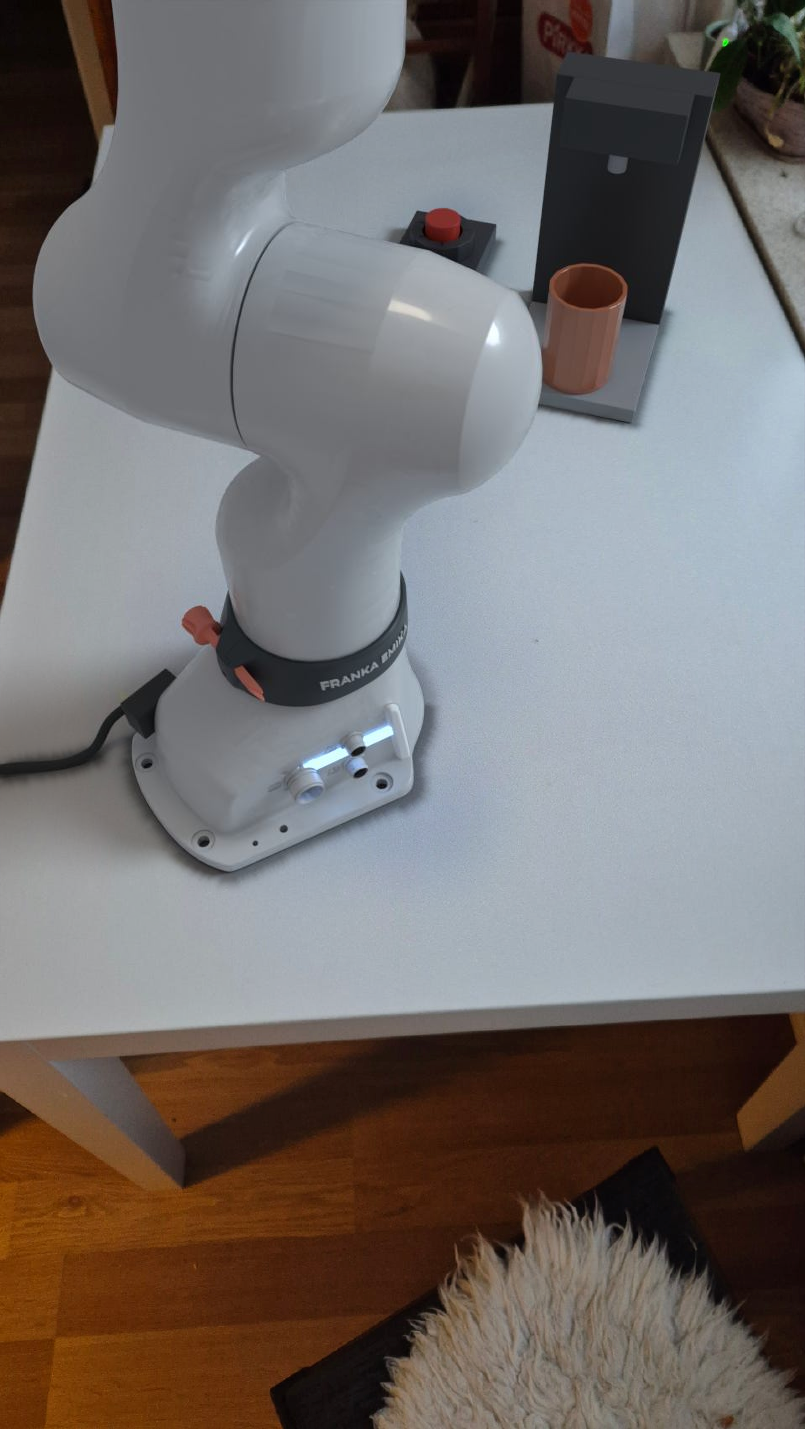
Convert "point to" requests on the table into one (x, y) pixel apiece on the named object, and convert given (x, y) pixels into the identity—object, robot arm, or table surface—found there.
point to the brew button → (442, 225)
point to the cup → (582, 327)
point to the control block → (455, 241)
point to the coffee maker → (620, 199)
